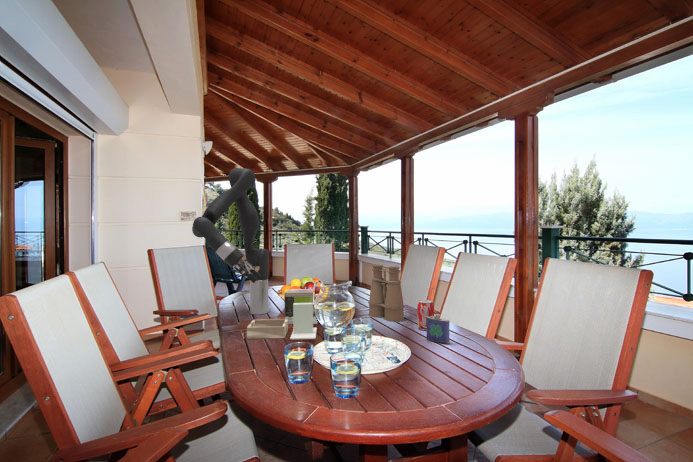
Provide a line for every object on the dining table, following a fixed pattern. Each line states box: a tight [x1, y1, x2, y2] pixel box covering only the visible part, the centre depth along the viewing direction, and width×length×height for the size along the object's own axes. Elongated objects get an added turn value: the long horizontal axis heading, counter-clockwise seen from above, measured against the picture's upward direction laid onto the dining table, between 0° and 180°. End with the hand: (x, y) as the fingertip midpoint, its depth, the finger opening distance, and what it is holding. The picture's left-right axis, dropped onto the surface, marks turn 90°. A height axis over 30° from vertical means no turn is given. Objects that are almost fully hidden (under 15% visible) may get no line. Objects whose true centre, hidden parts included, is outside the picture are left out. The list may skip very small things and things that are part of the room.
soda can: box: [416, 299, 435, 332], centre depth 154 cm, size 7×7×12 cm
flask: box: [425, 313, 451, 345], centre depth 137 cm, size 9×3×11 cm, turn 50°
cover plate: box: [292, 303, 314, 334], centre depth 149 cm, size 3×8×12 cm, turn 93°
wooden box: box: [246, 318, 289, 340], centre depth 149 cm, size 12×15×4 cm
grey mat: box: [289, 327, 318, 340], centre depth 148 cm, size 14×10×1 cm
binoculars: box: [367, 264, 405, 323], centre depth 174 cm, size 21×10×25 cm, turn 41°
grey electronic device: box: [284, 288, 319, 325], centre depth 167 cm, size 15×10×15 cm
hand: (257, 279), depth 154 cm, fingers open, 8 cm apart
